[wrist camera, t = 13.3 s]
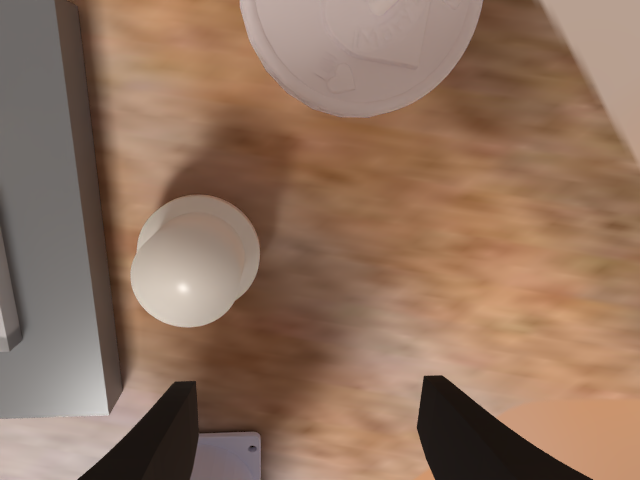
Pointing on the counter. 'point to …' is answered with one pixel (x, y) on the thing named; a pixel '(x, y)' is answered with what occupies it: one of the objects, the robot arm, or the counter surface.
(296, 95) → the smoothie
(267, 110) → the counter surface
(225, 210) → the plug
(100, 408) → the socket block
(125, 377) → the counter surface
